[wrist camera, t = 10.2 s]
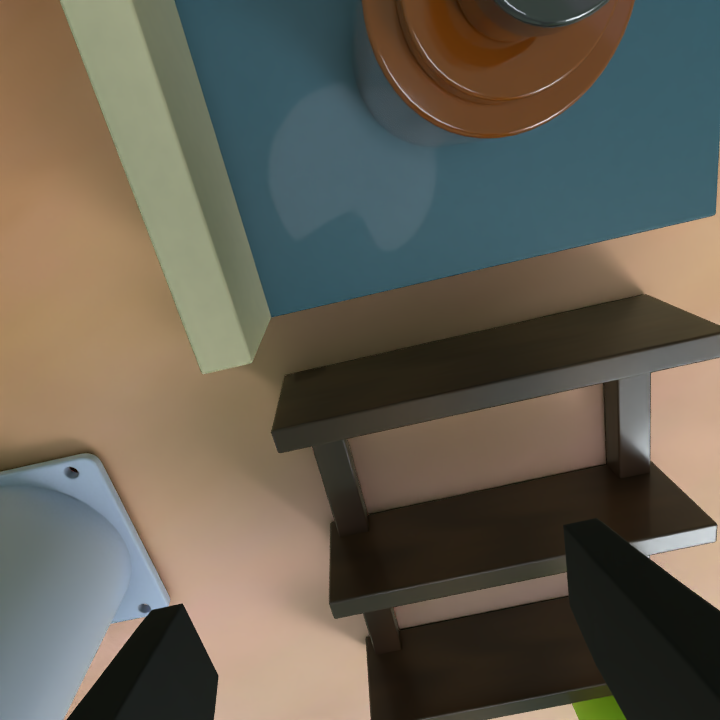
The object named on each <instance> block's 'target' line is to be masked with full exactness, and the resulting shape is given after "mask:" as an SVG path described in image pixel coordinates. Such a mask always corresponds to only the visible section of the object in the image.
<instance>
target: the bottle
mask: <svg viewBox="0 0 720 720" xmlns="http://www.w3.org/2000/svg"><path fill="white" fill-rule="evenodd" d="M634 2H635V0H356V8H355V16H354V24H353V32H352V43H351V60H352V68H353V74H354V78H355V82H356V86H357V88H358V91H359V94H360V96H361V98H362V100H363V102H364V104H365V106H366V108H367V109H368V111H369V112H370V113H371V115H372V116H373V118H374V119H375V120H376V121H377V122H378V123H379V124H380V125H381V126H382V127H383V128H384V129H385V130H387V131H388V132H389V133H390V134H392V135H394V136H395V137H397V138H398V139H400V140H403V141H405V142H407V143H410V144H414V145H417V146H423V147H445V146H452V145H458V144H465V143H472V142H478V141H485V140H492V139H498V138H504V137H510V136H516V135H519V134H522V133H525V132H528V131H531V130H533V129H536V128H538V127H540V126H542V125H544V124H546V123H548V122H550V121H551V120H553V119H554V118H556V117H558V116H559V115H561V114H562V113H564V112H565V111H566V110H567V109H569V108H570V107H571V106H572V105H573V104H575V103H576V102H577V101H578V100H579V99H580V98H581V97H582V96H583V95H584V94H585V93H586V92H587V91H588V90H589V89H590V88H591V87H592V85H593V84H594V83H595V81H596V80H597V79H598V78H599V76H600V75H601V74H602V73H603V71H604V70H605V68H606V66H607V65H608V63H609V62H610V60H611V58H612V57H613V55H614V53H615V51H616V49H617V47H618V45H619V43H620V41H621V39H622V37H623V35H624V33H625V30H626V27H627V25H628V22H629V19H630V17H631V14H632V10H633V6H634Z"/></svg>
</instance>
